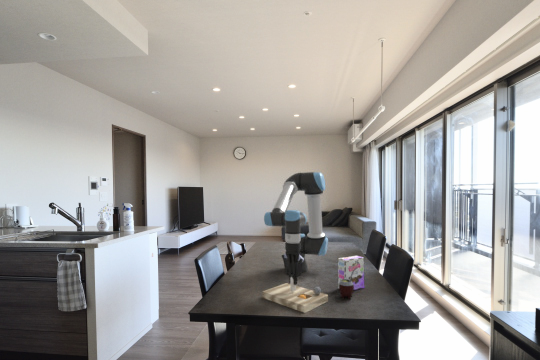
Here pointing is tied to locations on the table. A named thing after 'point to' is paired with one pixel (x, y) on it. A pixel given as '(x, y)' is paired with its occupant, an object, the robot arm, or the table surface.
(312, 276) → the table surface
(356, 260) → the candy box
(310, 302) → the deck
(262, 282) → the table surface
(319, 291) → the grey ball
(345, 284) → the mate gourd
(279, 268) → the table surface
